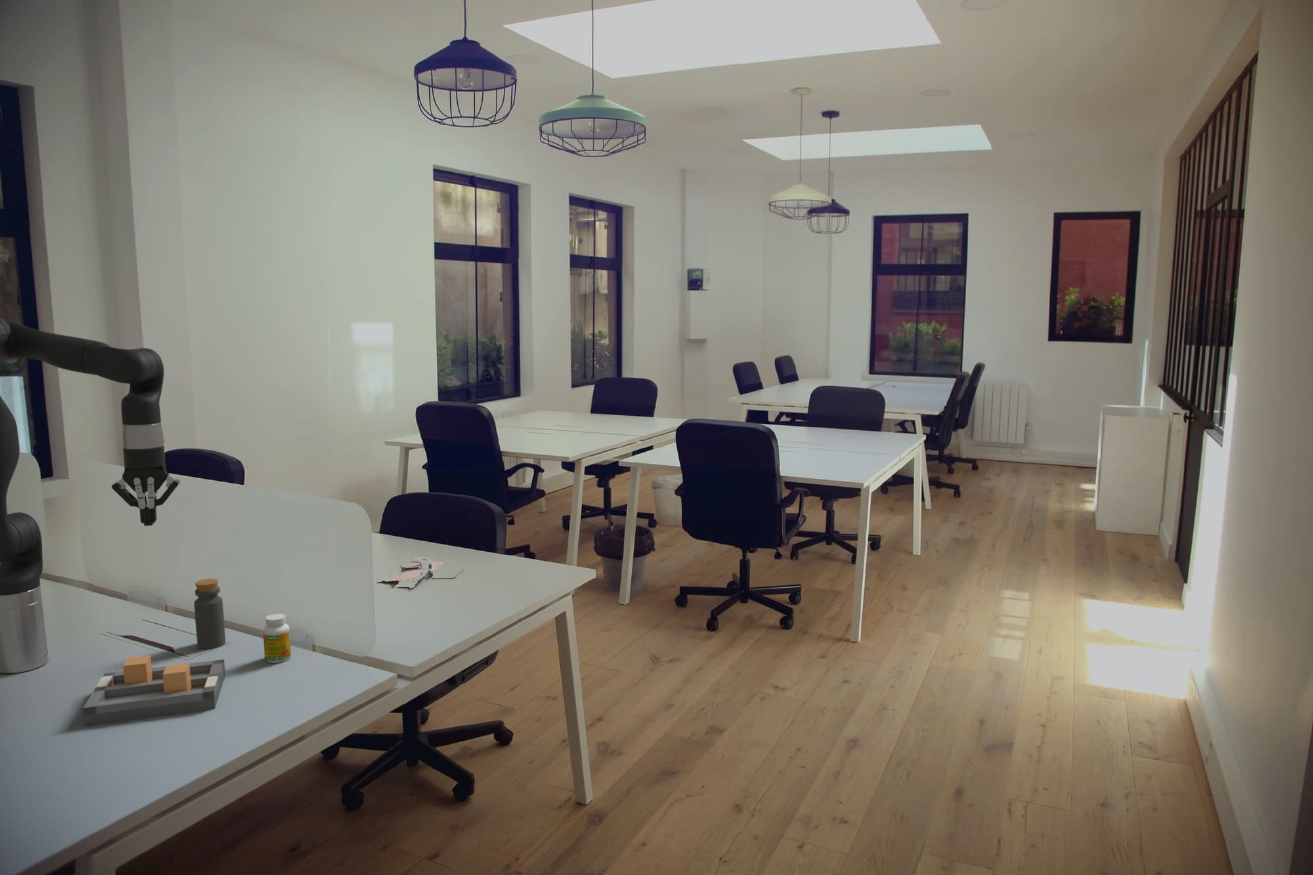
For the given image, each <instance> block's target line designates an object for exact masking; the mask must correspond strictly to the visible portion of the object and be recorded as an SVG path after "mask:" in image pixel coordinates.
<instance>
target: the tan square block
mask: <svg viewBox="0 0 1313 875" xmlns="http://www.w3.org/2000/svg"><path fill="white" fill-rule="evenodd" d="M189 663H190V662H187V663H186V662H185V663H177V664H170V665H169V664H168V665H165V666H166V668H165V670H164V673H163V684H164V693H172V692H180V691H188V690H190V689H191V676H190V664H189Z"/></svg>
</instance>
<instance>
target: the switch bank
mask: <svg viewBox="0 0 1313 875" xmlns="http://www.w3.org/2000/svg"><path fill="white" fill-rule="evenodd" d="M188 663H189V664H190V676H191V689H190V690H188V691H180V692H172V693H164V684H163V673H164V670H165V668H166V666H167V665H164V666H158V667H157V666H156V667H152V680H151V682H143V683H134V684H126V685H125V681H124V670H122V671H115V672H114V671H113V672H105V673H104V674H103V675H102V676H101V679H100V680H99V682H98V683H97V684H96V686H95V688H94V689H93V691H92V693H91V694H90V695H89V697H88V698H87V701H86V703H85V704H84V706H83V707H82V711H83V722H84V726H91V725H100V724H107V723H108V724H109V723H114V722H121V721H123V722H124V721H130V720H137V719H145V718H152V717H159V716H165V715H166V716H167V715H174V714H181V713H182V714H183V713H190V712H197V711H205V710H213V709H216V707H217V704H218V700H219V697H220V693H221V690H222V687H223V684H224V680H225V678H226V667H225V659H216V660H208V661H207V660H206V661H199V662H198V661H197V662H188Z"/></svg>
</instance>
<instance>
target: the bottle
mask: <svg viewBox="0 0 1313 875" xmlns="http://www.w3.org/2000/svg"><path fill="white" fill-rule="evenodd" d="M218 585H219V579H218V578H205V579H200V580H197V581H195V587H196V589H195V590H194V594H195V596H196V597H197V599H195V600H194V602H193V606H194V619H195V620H194V621H195V632H196V634H195V635H196V645H197V648H199V649H201V650H202V649H203V650H208V649H215V648H219V647H222V646H223V645H225V644H226V629H225V627H226V626H225V616H224V602H223V598H222V597H221V596H220V595H218V594H219V593H221V588H220V586H218Z"/></svg>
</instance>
